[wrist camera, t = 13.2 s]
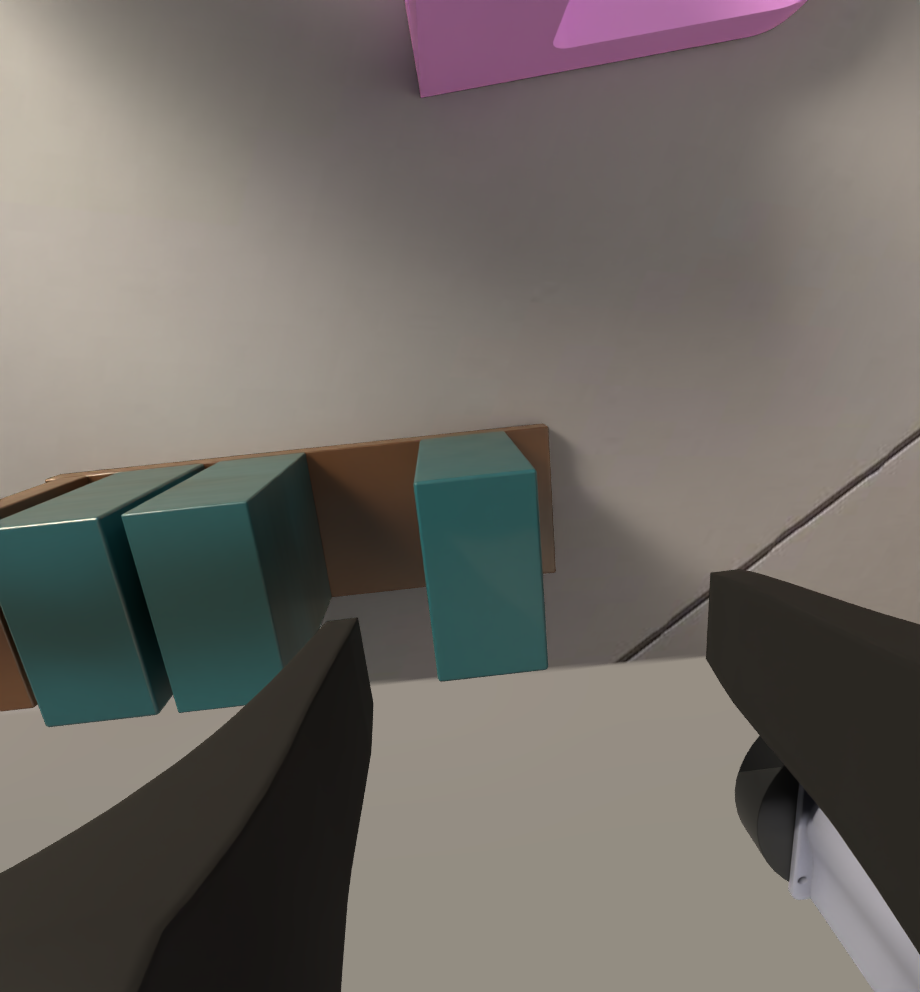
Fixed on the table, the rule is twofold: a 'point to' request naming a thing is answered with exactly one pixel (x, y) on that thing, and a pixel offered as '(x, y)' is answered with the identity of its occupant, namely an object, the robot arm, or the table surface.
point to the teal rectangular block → (481, 555)
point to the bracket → (567, 34)
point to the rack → (204, 571)
